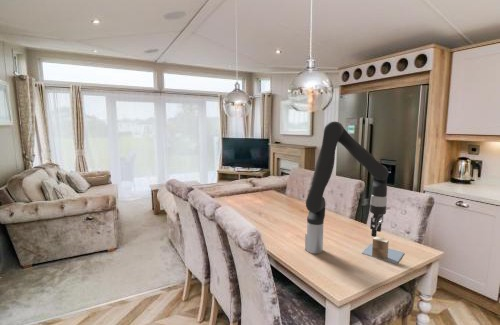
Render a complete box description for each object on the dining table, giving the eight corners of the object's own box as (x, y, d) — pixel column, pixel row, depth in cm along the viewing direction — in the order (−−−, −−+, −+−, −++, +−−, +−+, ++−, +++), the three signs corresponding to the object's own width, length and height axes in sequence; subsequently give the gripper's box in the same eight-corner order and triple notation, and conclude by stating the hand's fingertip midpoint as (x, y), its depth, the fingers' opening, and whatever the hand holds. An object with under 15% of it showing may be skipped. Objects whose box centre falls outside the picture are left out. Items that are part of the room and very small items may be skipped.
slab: (371, 255, 146) (372, 238, 145) (374, 253, 149) (375, 236, 148) (385, 259, 142) (386, 242, 140) (387, 257, 144) (388, 240, 143)
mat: (361, 253, 150) (361, 252, 150) (371, 244, 162) (371, 243, 162) (396, 264, 138) (396, 263, 138) (404, 253, 150) (404, 252, 150)
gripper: (374, 199, 143) (372, 228, 146) (366, 205, 133) (364, 236, 135) (389, 202, 139) (387, 231, 141) (382, 208, 128) (380, 240, 130)
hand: (376, 233), depth 138 cm, fingers open, 8 cm apart
